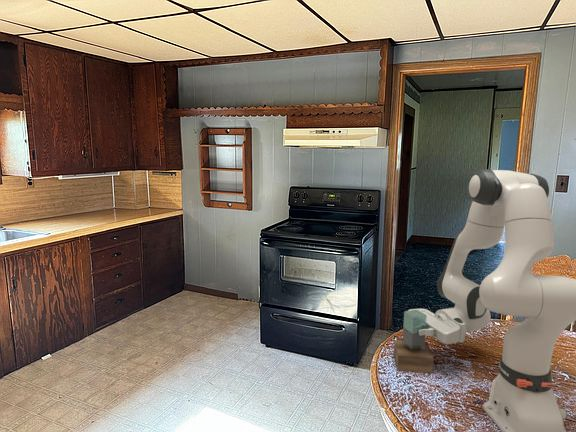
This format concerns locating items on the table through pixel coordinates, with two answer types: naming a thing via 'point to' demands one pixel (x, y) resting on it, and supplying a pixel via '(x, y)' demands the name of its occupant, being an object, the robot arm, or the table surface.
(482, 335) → the table surface
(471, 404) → the table surface
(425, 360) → the walnut stand
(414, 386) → the table surface
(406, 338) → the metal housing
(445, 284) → the robot arm
